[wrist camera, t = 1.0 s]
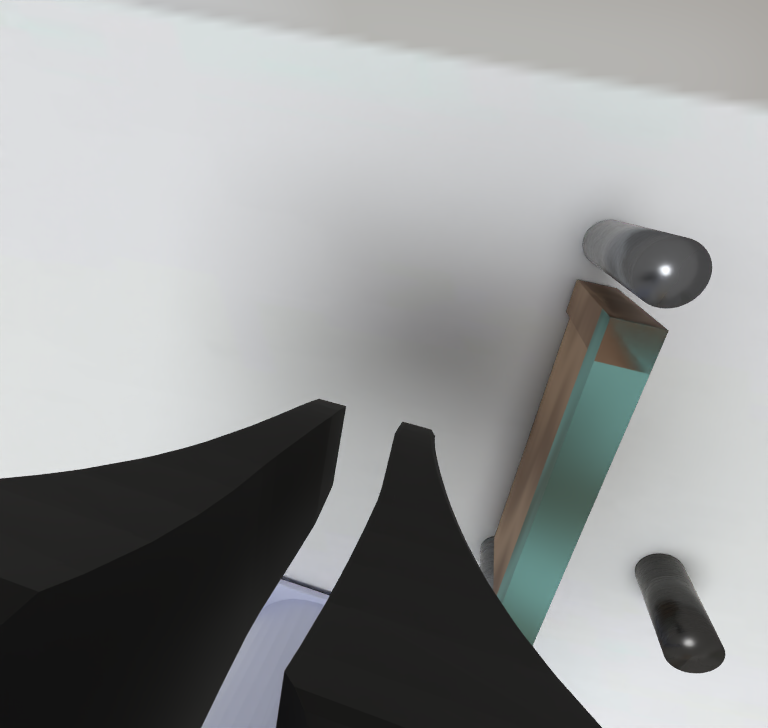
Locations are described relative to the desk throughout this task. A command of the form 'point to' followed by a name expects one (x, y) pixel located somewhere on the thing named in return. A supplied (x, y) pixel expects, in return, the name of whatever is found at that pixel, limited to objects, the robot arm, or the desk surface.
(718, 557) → the desk surface
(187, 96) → the desk surface
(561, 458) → the open box
